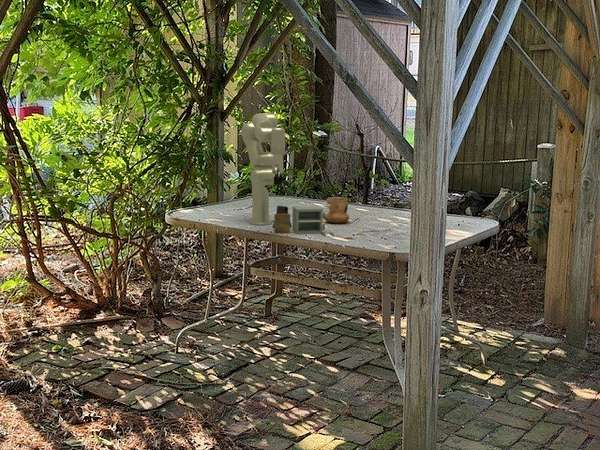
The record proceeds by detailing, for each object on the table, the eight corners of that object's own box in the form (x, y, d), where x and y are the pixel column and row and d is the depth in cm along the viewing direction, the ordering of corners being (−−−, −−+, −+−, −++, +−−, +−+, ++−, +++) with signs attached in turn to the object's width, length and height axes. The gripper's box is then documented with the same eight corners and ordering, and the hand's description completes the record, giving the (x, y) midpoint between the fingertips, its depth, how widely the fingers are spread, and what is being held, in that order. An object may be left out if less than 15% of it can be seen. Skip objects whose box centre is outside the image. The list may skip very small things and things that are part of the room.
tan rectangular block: (274, 232, 408) (274, 213, 407) (289, 232, 410) (289, 213, 408) (275, 233, 405) (275, 215, 403) (290, 233, 406) (290, 214, 404)
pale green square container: (292, 230, 417) (292, 206, 415) (324, 229, 420) (324, 205, 418) (300, 236, 395) (300, 212, 393) (333, 236, 399) (334, 211, 397)
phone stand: (280, 229, 419) (280, 207, 417) (272, 227, 423) (272, 206, 422) (291, 227, 426) (292, 206, 424) (284, 226, 430) (284, 204, 428)
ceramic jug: (336, 225, 434) (336, 200, 431) (317, 222, 443) (318, 198, 441) (356, 222, 446) (357, 198, 444) (338, 219, 456) (338, 196, 454)
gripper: (273, 151, 411) (273, 183, 413) (268, 152, 394) (268, 185, 396) (287, 151, 411) (287, 183, 413) (282, 152, 393) (283, 185, 395)
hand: (278, 184), depth 404 cm, fingers open, 9 cm apart
